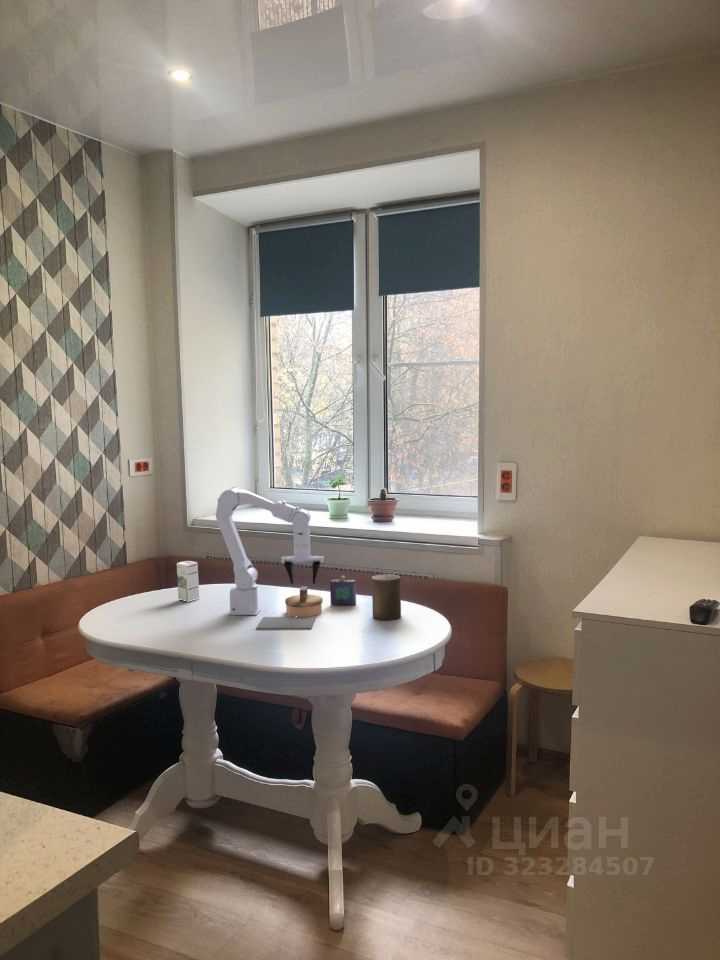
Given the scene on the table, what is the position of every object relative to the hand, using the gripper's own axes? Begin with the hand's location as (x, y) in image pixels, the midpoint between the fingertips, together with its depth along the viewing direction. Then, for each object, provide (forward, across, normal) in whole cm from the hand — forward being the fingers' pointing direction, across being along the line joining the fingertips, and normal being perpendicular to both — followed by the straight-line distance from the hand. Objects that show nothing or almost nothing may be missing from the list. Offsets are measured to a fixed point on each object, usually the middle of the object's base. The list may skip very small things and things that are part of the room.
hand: (303, 583), depth 253 cm
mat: (+10, -4, -14) cm, 18 cm away
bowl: (+10, 0, 0) cm, 10 cm away
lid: (+7, 0, 0) cm, 7 cm away
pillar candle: (+11, +29, -6) cm, 31 cm away
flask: (+11, +13, +9) cm, 19 cm away
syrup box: (+11, -46, +17) cm, 50 cm away
